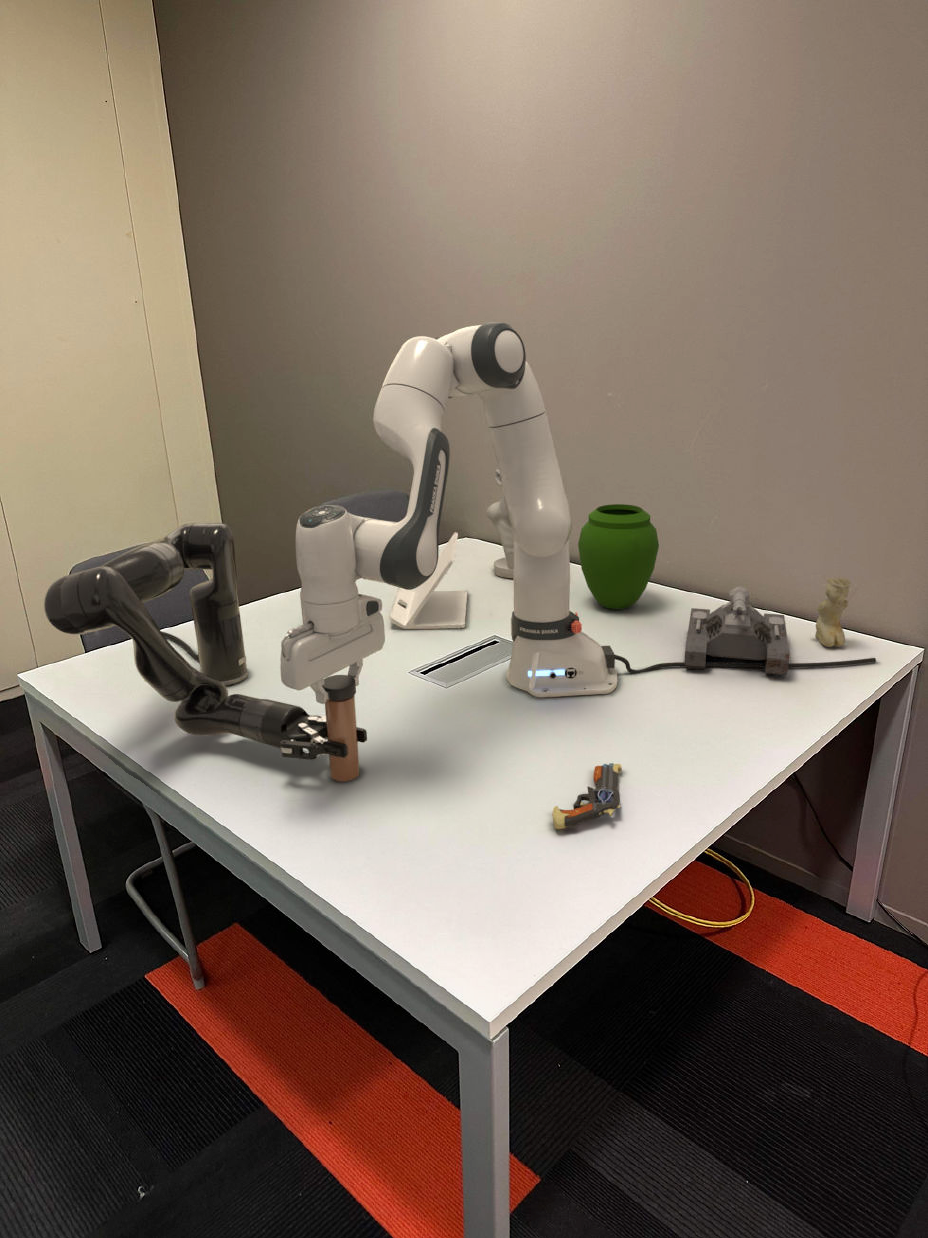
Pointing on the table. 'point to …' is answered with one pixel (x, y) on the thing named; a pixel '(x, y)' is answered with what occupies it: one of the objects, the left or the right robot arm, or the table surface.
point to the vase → (618, 554)
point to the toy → (737, 635)
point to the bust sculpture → (502, 533)
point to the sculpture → (832, 613)
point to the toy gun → (593, 799)
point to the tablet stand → (432, 599)
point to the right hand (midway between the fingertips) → (338, 693)
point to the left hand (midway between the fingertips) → (355, 743)
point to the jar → (343, 738)
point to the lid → (340, 687)
